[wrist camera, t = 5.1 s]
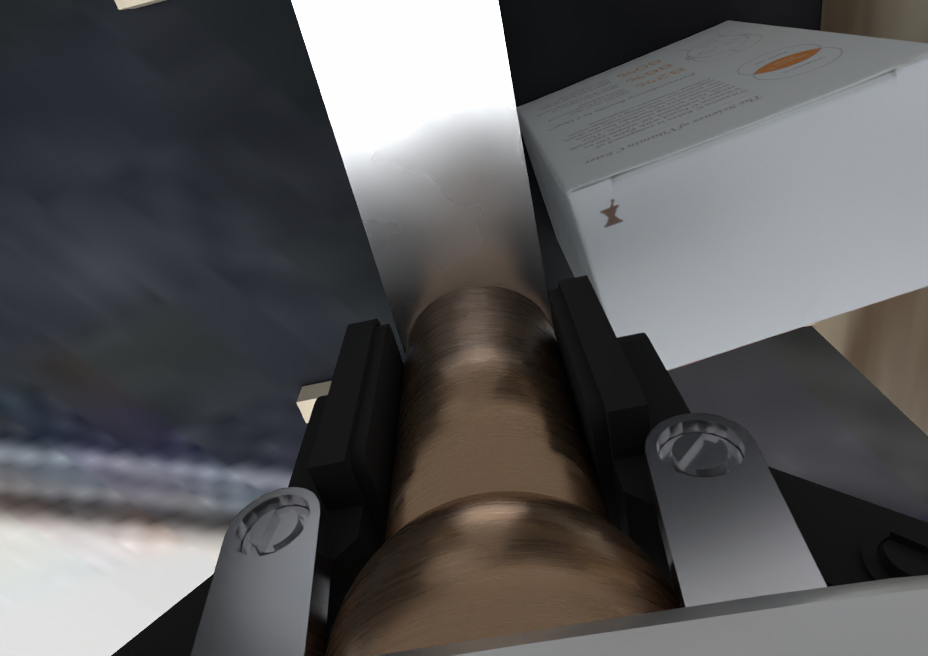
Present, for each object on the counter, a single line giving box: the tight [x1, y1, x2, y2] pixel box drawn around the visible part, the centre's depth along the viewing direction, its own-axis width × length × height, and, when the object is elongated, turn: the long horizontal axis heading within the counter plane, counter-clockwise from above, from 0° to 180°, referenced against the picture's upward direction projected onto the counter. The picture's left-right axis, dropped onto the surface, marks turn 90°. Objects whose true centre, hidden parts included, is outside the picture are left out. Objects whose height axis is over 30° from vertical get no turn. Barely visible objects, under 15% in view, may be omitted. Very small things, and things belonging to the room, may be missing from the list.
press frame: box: [115, 0, 928, 436], centre depth 18 cm, size 26×19×10 cm
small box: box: [516, 20, 928, 371], centre depth 18 cm, size 8×6×10 cm
